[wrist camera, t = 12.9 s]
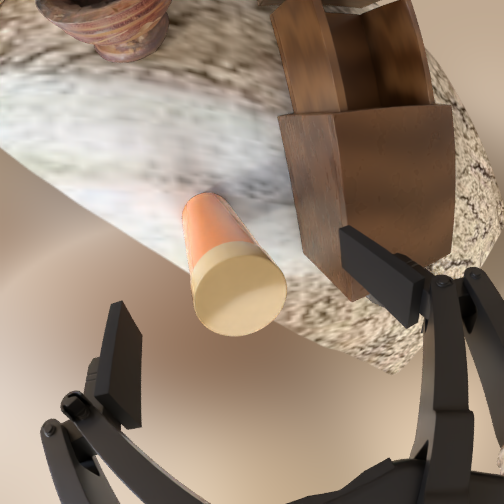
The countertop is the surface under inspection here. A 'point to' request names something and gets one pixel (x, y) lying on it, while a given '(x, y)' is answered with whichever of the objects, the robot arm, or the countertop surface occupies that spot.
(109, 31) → the mortar and pestle
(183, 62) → the countertop surface
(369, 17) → the drawer
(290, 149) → the cabinet
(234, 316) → the spice jar
